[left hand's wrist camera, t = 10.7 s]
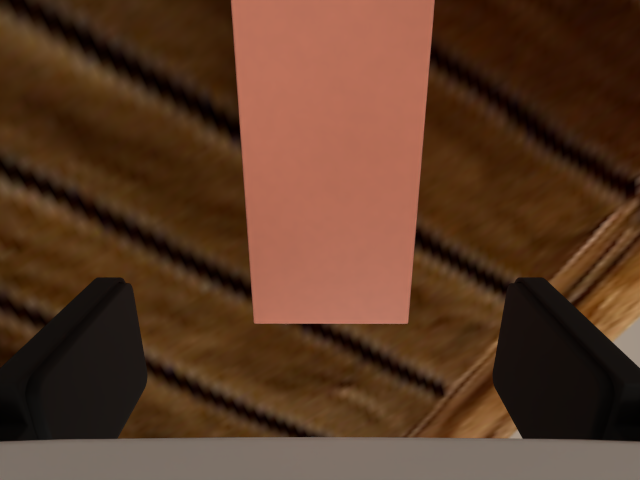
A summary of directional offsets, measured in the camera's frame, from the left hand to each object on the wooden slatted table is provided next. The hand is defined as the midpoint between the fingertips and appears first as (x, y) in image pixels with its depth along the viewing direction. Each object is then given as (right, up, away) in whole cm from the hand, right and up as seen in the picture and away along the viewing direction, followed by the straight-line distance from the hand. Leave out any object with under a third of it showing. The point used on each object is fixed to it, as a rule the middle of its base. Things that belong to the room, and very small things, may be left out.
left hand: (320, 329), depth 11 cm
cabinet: (0, +11, +12) cm, 16 cm away
